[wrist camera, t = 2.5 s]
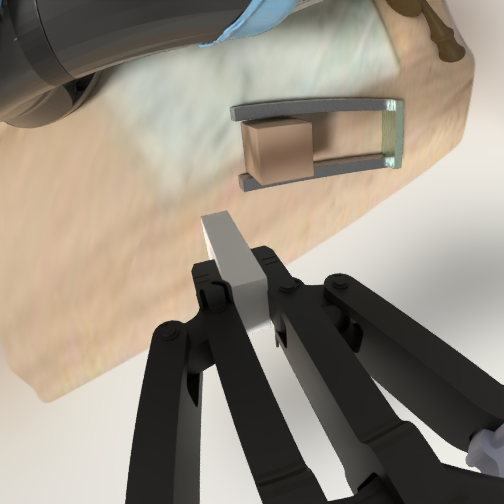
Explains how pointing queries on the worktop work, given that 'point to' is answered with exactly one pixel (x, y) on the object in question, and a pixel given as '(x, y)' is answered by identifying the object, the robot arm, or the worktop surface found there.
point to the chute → (389, 107)
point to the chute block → (278, 149)
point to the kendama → (432, 27)
